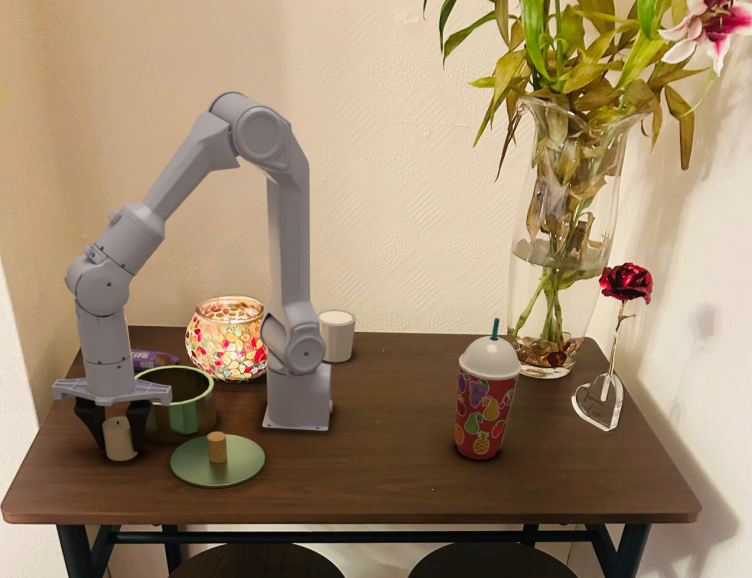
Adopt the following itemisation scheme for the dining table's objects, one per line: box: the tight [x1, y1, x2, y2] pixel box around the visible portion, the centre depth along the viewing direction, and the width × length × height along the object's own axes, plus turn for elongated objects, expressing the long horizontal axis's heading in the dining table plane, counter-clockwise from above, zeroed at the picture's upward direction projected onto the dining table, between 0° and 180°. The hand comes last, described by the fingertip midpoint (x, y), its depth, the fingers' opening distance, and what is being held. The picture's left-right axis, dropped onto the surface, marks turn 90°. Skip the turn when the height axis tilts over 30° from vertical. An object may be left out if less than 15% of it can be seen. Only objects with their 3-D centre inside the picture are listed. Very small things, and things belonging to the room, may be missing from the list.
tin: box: [129, 365, 218, 443], centre depth 110 cm, size 12×12×6 cm
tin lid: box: [169, 431, 266, 489], centre depth 102 cm, size 12×12×5 cm
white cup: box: [316, 309, 357, 363], centre depth 131 cm, size 7×7×7 cm
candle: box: [102, 416, 139, 462], centre depth 102 cm, size 4×4×5 cm
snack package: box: [131, 348, 180, 372], centre depth 125 cm, size 12×2×5 cm
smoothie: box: [453, 317, 523, 461], centre depth 105 cm, size 8×8×20 cm
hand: (121, 447), depth 103 cm, fingers closed on candle, 4 cm apart
